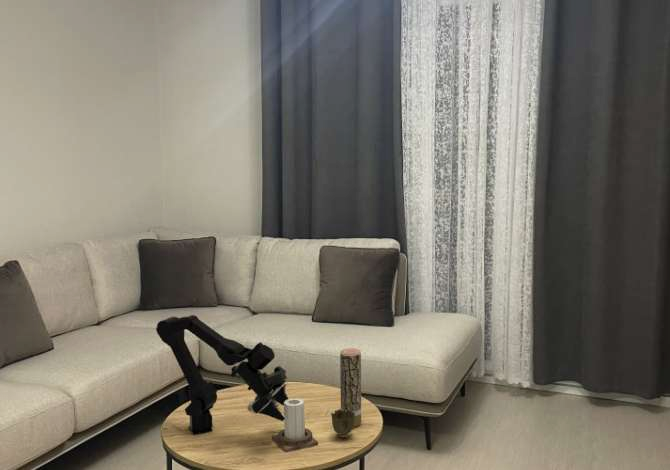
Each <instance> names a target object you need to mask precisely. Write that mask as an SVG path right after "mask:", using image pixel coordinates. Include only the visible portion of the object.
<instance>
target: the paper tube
mask: <svg viewBox="0 0 670 470" xmlns="http://www.w3.org/2000/svg"><path fill="white" fill-rule="evenodd" d="M339 354H340V355H339V358H340V359H339V361H340V363H339V364H340V367H339V368H340V370H339V371H340V377H339V378H340V410H342V411H343V410H344V409H345V411H347V410H349V411H350V410H351V411H352V412H354V413H355V415H354V424H353V428H357V427H359V426H360V425H361V424H362V350H360V349H358V348H344V349H341V350H340V352H339Z"/></svg>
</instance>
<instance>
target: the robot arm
mask: <svg viewBox="0 0 670 470" xmlns="http://www.w3.org/2000/svg"><path fill="white" fill-rule="evenodd" d="M155 330H156V333H157V335H158V337H159V338H160V339H161V341H162V342H163V343H164V344H166V345H167V346H168V347H169V348H170V349H171V351H172V353H173V356H174V357H175V359H176V362H177V363H178V365H179V368H180V370H181V372H182V374H183V375H184V378H185V380H186V383H187V384H188V387H189V388H188V389H189V390H188V391H189V393H188V394H189V395H188V398H189V399H190V403H189V404H188V405H187V406H186V407H185V408H184V411H185V414H186V416H188V417H189V426H188V429H189V431H190V432H191V434H192V433H193V434H192V435H197V434H198V433H199V434H204V433H209V432H212V431H213V415H212V414H211V409H213V408H214V405H215V404H216V403H217V400H218V395H217V393H218V391H217V390H216V387H215V386H214V383H213V382H212V381H209V382H207V381H206V380H205V379H204V377H203V375H202V374H201V372H200V370H199V368H198V365H197V363H196V361H195V359H194V357H193V355H192V353H191V351H190V348H189V347H188V344H187V343H186V340H185V330H187V331H188V332H190V333H191V334H193V335H194V336H195V337H197V338H198V339H200V341H202V342H203V343H205V344H206V345H208V346H209V347H210V348H211V349H213V351H215V352H216V355H217V357H218V358H219V359H220V360H221V362H223V364H225V365H226V366H232V368H231V369H230V370H231V373H230V374H231V375H230V376H231V378H234V377H235V376H236V375H238V376H239V378H241V380H242V381H243V382H244V383H245V385H247V386H248V387H247V390H249V391H251V390H252V391H253V392H254V393H255V395H257V396H258V397H257V400H256V401H255V402H254V404H253V405H252V409H251V410H252V411H253V413H255V414H256V415H257V414H259V415H261V414H262V415H265V416H268V417H270V418H273V419H275V420H278V421H281V422H284V419H285V418H284V414H282V412H281V411H280V409H278V407H277V406H276V405H275V401H276V402H277V403H278V404H280V405H281V406H282V407H284V402H285V400H288V399H289V397H288V395H287V393H286V386H287V384H286V382H287V381H286V380H287V379H288V376H287V375H286V373H287V371H286V369H285V368H284V367H281V366H280V365H277V366H276V367H275V368H274V369H273V372H271V373H270V374H268V373H267V372H265V371H263V372H261V370H264V369H265V367H267V366H268V365H269V364H270V363H271V362H272V361H273V360H274V359H275V356H276V355H275V351H274V350H273V349H272V348H271V347H269V346H268V345H267V344H263V342H262V341H259V342H258V343H256V344H255V345H254V347H253V348H249V347H247V346H246V347H245V346H244V345H243V344H242V343H240V342H239V341H236V340H233V339H230V338H227V337H224V336H222V335H221V334H220V333H218V332H216V331H215V330H214V329H213V328H211V327H210V326H208V325H207V324H206V323H205V322H203V321H202V320H201V319H199V317H198V316H197V315H194V314H191V315H188V316H182V317H178V316H175V315H174V316H173V315H172V316H170V317H167V318H165V319H162V320H160V321H159V322H158V323H157V324H156V327H155ZM245 360H247V361H245ZM238 363H239V364H238ZM236 364H238V365H236ZM272 395H273V396H272ZM271 399H272V400H271ZM260 410H261V411H260ZM199 434H198V435H199Z"/></svg>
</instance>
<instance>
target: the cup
mask: <svg viewBox="0 0 670 470" xmlns="http://www.w3.org/2000/svg"><path fill="white" fill-rule="evenodd" d="M330 414H331V423H332V424H331V425H332V428H333V431H334V432H335V433H336V434H337V437H338V439H342V440H343V439H347V438H349V436H350V433H351V432H352V431H353V428H354V427H353V424H354V415H355V413H354V412H352V411H351V410H350V411H349V410H347V411H345V409H344V410H343V411H342V410H341V408H339V409H337V410H336V409H335V410H334V413H333V412H331V413H330Z"/></svg>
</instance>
